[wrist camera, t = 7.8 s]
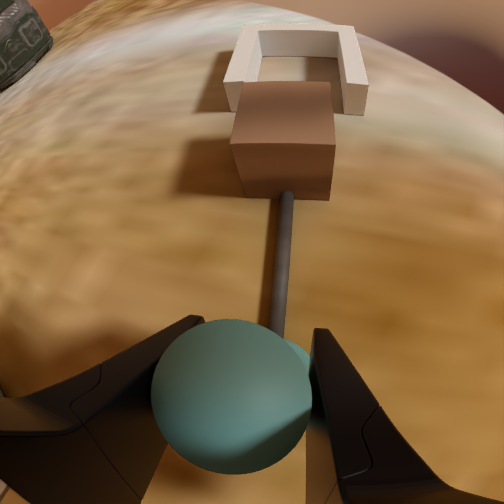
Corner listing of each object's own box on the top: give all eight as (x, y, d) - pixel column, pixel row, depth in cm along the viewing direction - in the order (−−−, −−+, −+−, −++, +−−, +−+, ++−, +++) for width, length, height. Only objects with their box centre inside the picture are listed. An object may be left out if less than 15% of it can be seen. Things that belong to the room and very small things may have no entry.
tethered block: (316, 429, 13) (341, 512, 4) (217, 419, 14) (108, 468, 5) (327, 139, 20) (330, 6, 11) (254, 137, 21) (226, 10, 11)
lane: (363, 115, 20) (368, 85, 17) (231, 111, 22) (222, 82, 19) (352, 51, 24) (353, 26, 21) (248, 49, 26) (243, 25, 23)
